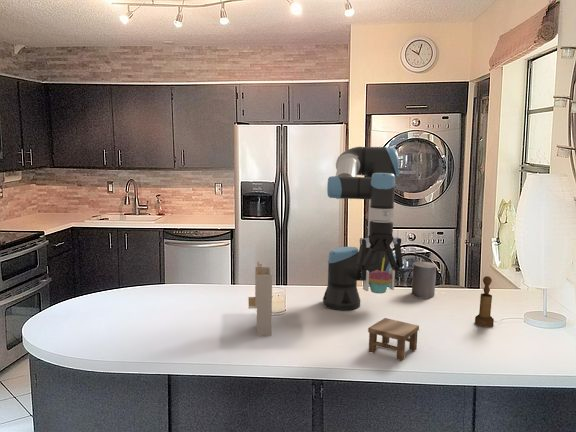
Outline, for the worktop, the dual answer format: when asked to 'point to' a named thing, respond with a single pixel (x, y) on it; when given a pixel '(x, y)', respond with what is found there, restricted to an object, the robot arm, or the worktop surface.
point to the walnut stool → (393, 336)
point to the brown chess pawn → (485, 306)
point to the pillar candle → (424, 279)
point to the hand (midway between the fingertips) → (378, 289)
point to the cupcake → (379, 280)
